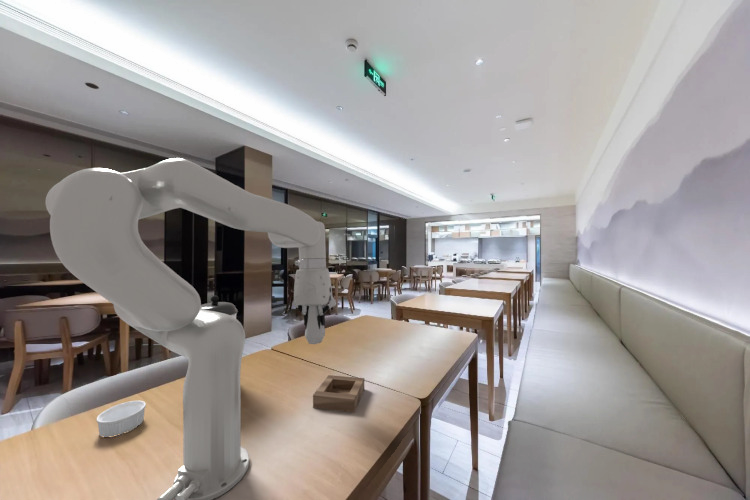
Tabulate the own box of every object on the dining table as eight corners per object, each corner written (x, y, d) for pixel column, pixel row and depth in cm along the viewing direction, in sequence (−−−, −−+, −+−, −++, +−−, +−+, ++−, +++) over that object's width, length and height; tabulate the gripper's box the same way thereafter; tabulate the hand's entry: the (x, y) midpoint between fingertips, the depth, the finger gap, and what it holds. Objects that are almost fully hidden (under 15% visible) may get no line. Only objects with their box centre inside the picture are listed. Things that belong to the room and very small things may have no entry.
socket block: (354, 412, 70) (354, 399, 70) (313, 407, 72) (312, 395, 73) (364, 389, 82) (364, 378, 82) (328, 385, 84) (328, 375, 84)
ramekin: (151, 423, 67) (151, 406, 67) (103, 445, 59) (102, 426, 59) (138, 412, 71) (138, 396, 71) (91, 431, 64) (91, 414, 64)
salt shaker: (327, 338, 78) (326, 294, 78) (322, 345, 72) (321, 299, 72) (308, 338, 78) (307, 295, 78) (302, 345, 72) (300, 299, 72)
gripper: (279, 266, 72) (281, 331, 73) (336, 265, 70) (338, 333, 70) (292, 263, 80) (294, 323, 80) (343, 263, 77) (345, 324, 78)
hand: (314, 327), depth 75 cm, fingers closed on salt shaker, 3 cm apart
